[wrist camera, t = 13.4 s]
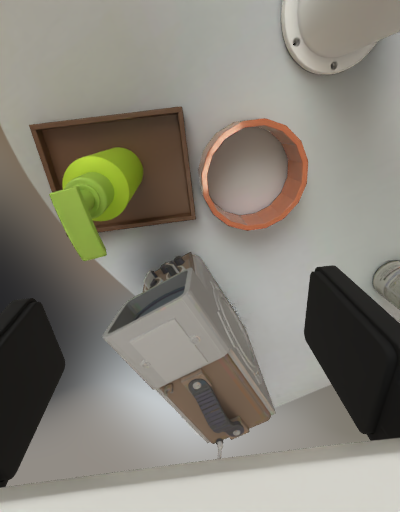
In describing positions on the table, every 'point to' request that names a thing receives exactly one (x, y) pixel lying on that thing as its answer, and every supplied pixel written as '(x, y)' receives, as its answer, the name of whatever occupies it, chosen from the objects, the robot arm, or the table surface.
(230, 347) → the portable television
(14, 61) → the table surface
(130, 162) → the soap dispenser
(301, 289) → the table surface
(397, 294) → the spray can
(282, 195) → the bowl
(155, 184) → the tray
